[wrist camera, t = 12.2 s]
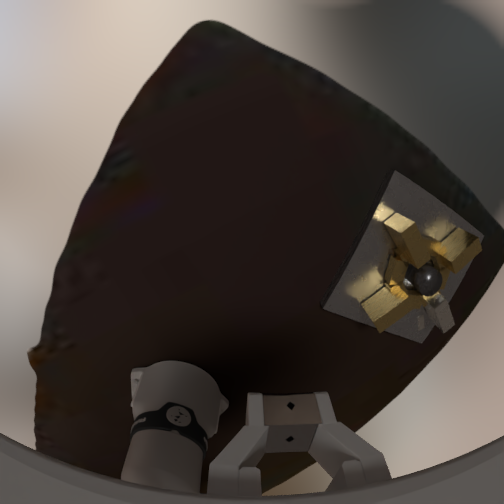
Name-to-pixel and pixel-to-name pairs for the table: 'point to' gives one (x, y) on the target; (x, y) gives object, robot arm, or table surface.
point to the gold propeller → (418, 253)
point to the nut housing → (382, 247)
